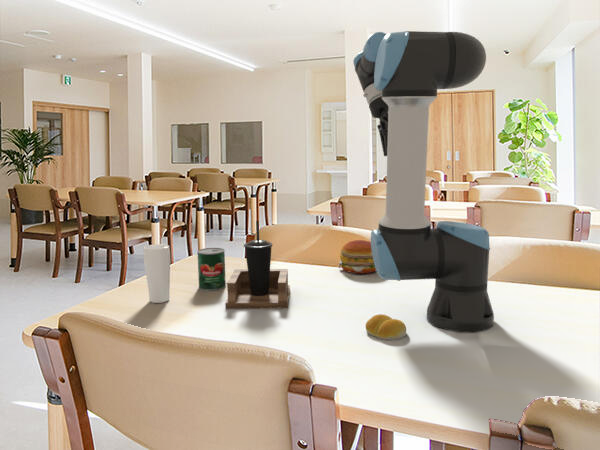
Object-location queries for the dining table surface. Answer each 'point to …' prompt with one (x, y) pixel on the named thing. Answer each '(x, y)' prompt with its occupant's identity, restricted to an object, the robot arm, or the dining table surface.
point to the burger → (357, 257)
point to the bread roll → (385, 327)
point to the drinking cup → (258, 264)
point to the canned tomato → (211, 269)
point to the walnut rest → (244, 300)
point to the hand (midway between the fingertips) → (404, 165)
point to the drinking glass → (157, 272)
